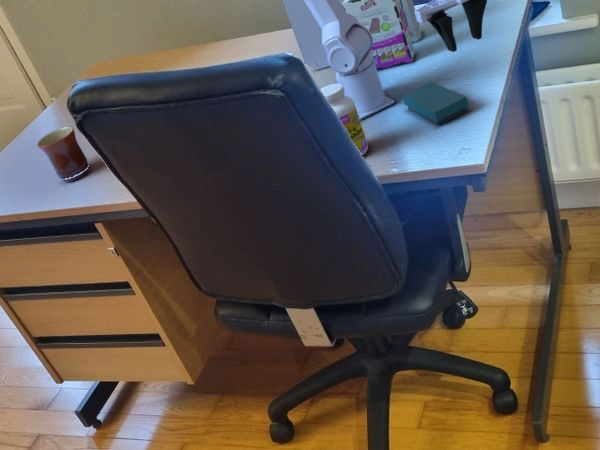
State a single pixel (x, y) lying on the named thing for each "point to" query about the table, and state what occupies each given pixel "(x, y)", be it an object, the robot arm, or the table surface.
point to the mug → (64, 153)
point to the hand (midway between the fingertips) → (464, 44)
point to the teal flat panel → (435, 103)
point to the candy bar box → (384, 30)
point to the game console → (311, 31)
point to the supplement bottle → (346, 114)
